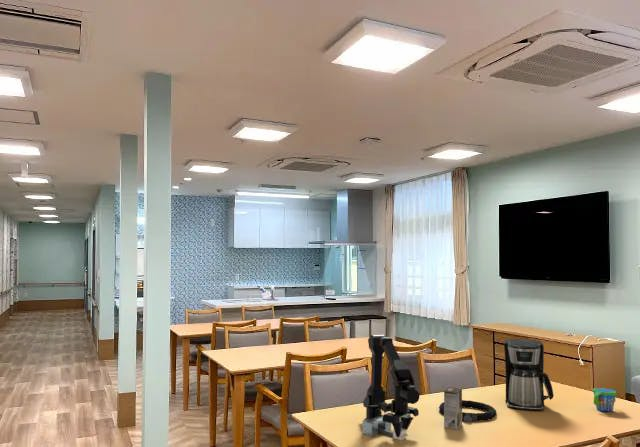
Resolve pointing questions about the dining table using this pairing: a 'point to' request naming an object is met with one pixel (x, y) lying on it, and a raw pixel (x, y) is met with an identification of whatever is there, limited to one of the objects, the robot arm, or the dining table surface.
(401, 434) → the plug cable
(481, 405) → the cable lock
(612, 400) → the snack cup
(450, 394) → the coffee box
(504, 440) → the dining table surface
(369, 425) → the motor housing
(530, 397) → the coffee maker
